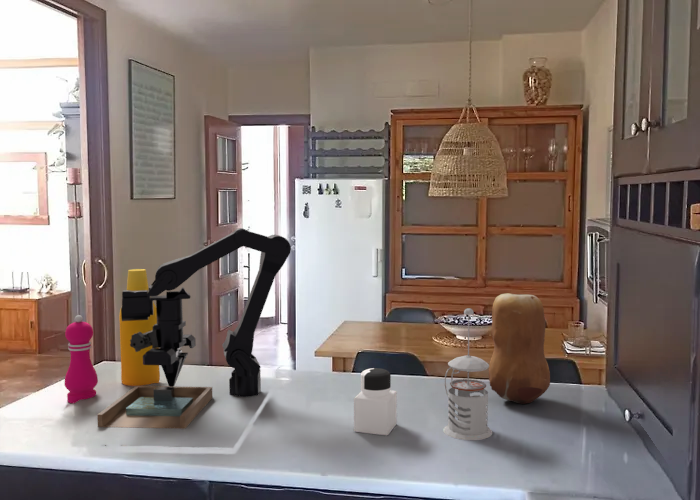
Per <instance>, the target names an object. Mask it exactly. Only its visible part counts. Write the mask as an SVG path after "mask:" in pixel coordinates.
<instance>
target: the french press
mask: <svg viewBox="0 0 700 500" xmlns="http://www.w3.org/2000/svg"><path fill="white" fill-rule="evenodd" d="M463 315H467V316H468V317H467V354H466V355H462V356H457V357H455V358H454V359H451V360H450V361H449V362H447V365H448V367H449V368H447V370H446V372H445V375H444V387H445V392H446V395H447V396H446V397H447V398H448V400H447V401H448V402H447V403H448V407H447V408H448V409H447V411H448V415H447V417H448V418H447V423H448V424H447V425H446V426H444V427H443V433H444V434H445V435H446V436H447V437H450V438H454V439H458V440H463V441H480V440H485V439H487V438H490V437H492V435H493V431H492V429H491V428H490V427H489V426H488V411H489V407H488V404H489V392H488V390H486V387H487V383H485V382H484V381H482V380H477V379H470V373H471V372H472V373H473V372H482V371H486V370H488V369H489V364H490V363H488V362H487V361H486V360H484V359H482V358H480V357H478V356H473V355H470V316H471V315H472V316H473V315H474V309H473V308H464V311H463ZM451 369H452V372H451V376H450V377H451V379H450V382H449V385H450V388H449V389H448V388H447V379H446V378H447V375H448V372H449V371H450V370H451ZM455 370H457V372H455ZM461 371H462V372H467V378H459V379H454V380H453V376H454V375H456V374H460V373H461ZM456 390H457V394H456ZM473 393H480V394H481V395H471V394H473ZM456 405H457V407H456Z"/></svg>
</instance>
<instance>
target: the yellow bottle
mask: <svg viewBox="0 0 700 500" xmlns="http://www.w3.org/2000/svg"><path fill="white" fill-rule="evenodd" d="M148 289H149V283H148V276H147V269H144V268H143V269H142V268H133V269H128V270H127V282H126V290H131V291H142V290H148ZM150 297H151V296H150ZM119 309H120V310H119V317H118V318H119V339H120V340H119V342H120V345H119V346H120V366H121V367H120V370H121V371H120V374H121V375H120V380H121V384H123V385H124V386H132V387H135V386H149V385H151V384H159V383H160V381H161V380H160V379H161V374H160V373H161V372H160V365H143V355H144V354H145V353H146V352H147V351H149V350H150V349H152V346H149V347H146V348H144V349H141V350H140V351H138V352H136V351H135V348H133V347H131V346H130V344H131V341H130V340H131V338H132V335H133V334H136V333H138V332H141V333H142V334H143V333H146V332H148V331H151V330H153V326H154V325H155V324H157V314H156V303H155V302H154V301H153V315H150V317H148V320H136V321H122V317H121V308H119Z"/></svg>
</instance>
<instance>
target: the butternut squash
mask: <svg viewBox="0 0 700 500" xmlns="http://www.w3.org/2000/svg"><path fill="white" fill-rule="evenodd" d="M544 309H545V308H544V306H543V303H542V301H541V299H540V298H538V297H537V296H536V295H533V294H514V293H508V292H506V293H501V294H499V295H497V296H496V297H495V299H494V301H493V303H492V309H491V331H490V332H491V337H492V340H493V345H494V348H493V352H492V355H491V358H490V361H489V363H488V364H489V367H488V381H489V386H490V388H491V390H492V391H493V392H494V393H496V394H497V395H498V397H499V398H502V399H504V400H507V401H510V402H514V403H515V404H520V405H525V404H526V405H527V404H529V403H533V402H534V401H536V400H537V399H539V398H540V397H541V396H542V395H544V394H545V393H546V392H547V390H548V389H549V388H550V385H551V372H550V367H549V363H548V360H547V359H546V356H545V351H544V350H545V349H544V345H545V337H546V317H545V313H544V312H545V311H544Z"/></svg>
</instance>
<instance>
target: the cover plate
mask: <svg viewBox="0 0 700 500" xmlns="http://www.w3.org/2000/svg"><path fill="white" fill-rule="evenodd" d="M153 391H154V397H140V398H138V399H137V400H136V401H135V402H133V403H132V404H131V405H130V406H128V407H127V408H126V415H133V416H180V415H181V414H182V413H183V412H184V411H185V410H186V409H187V408H188V407H189V406H190V405H191V404H192V403H193V398H177V397H175V393H174V387H156V388H155V389H154V390H153Z"/></svg>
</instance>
